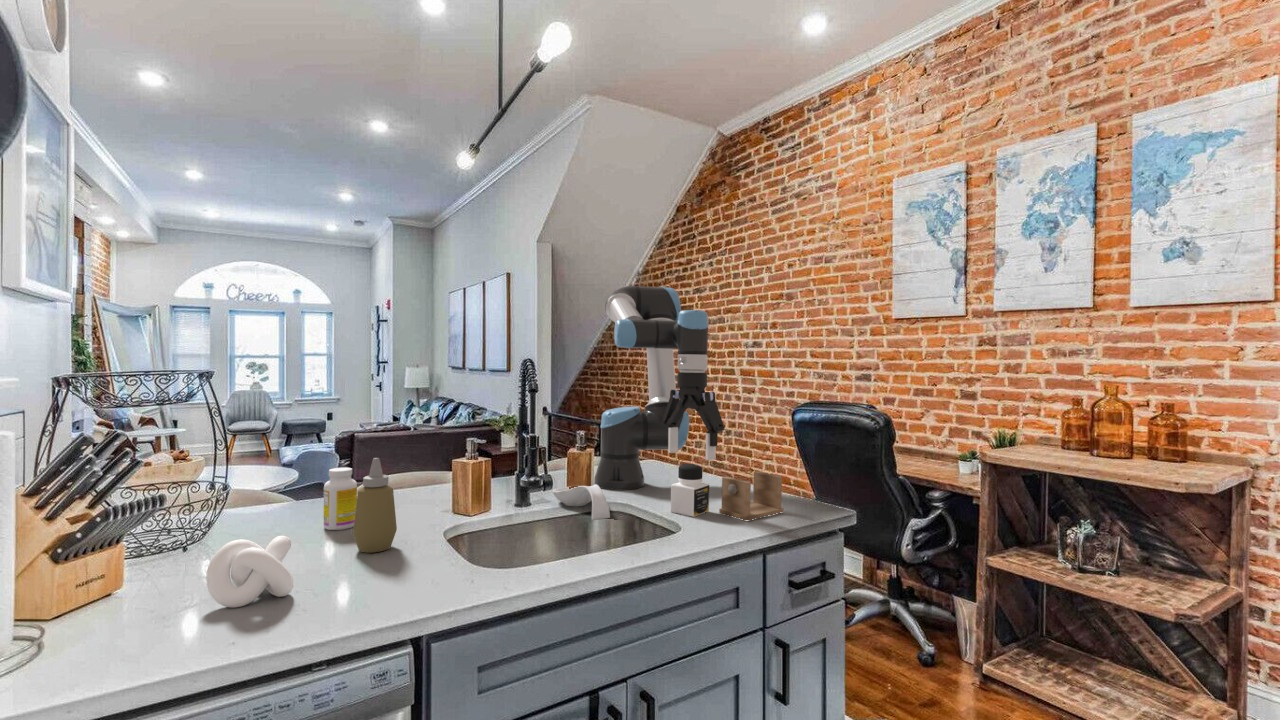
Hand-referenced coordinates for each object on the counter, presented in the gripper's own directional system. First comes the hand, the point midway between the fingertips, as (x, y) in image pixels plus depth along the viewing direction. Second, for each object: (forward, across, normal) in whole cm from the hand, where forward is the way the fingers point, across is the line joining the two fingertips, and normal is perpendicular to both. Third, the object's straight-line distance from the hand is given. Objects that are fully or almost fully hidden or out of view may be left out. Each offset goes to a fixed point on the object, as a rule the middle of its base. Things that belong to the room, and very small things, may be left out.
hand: (691, 456), depth 150 cm
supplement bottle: (+14, -36, -73) cm, 83 cm away
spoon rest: (+15, -19, -20) cm, 31 cm away
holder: (+14, +10, +12) cm, 21 cm away
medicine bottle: (+14, 0, 0) cm, 14 cm away
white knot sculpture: (+15, -4, -92) cm, 93 cm away
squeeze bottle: (+15, -16, -71) cm, 74 cm away
